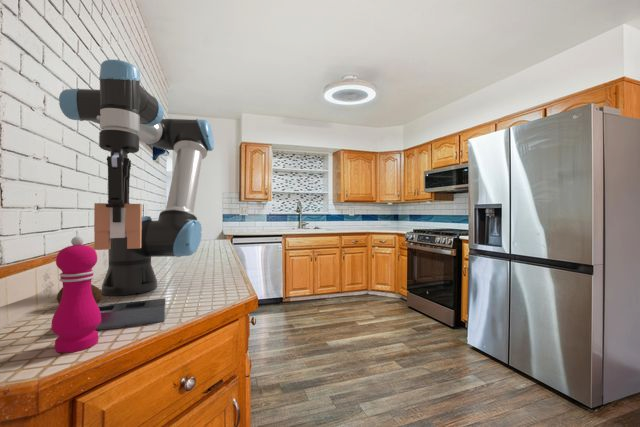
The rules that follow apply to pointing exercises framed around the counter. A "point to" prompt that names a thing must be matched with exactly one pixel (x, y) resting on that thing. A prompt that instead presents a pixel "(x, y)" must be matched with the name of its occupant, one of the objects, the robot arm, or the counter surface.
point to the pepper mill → (76, 299)
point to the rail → (131, 313)
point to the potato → (95, 292)
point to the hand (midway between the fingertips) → (119, 237)
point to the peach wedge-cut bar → (103, 226)
